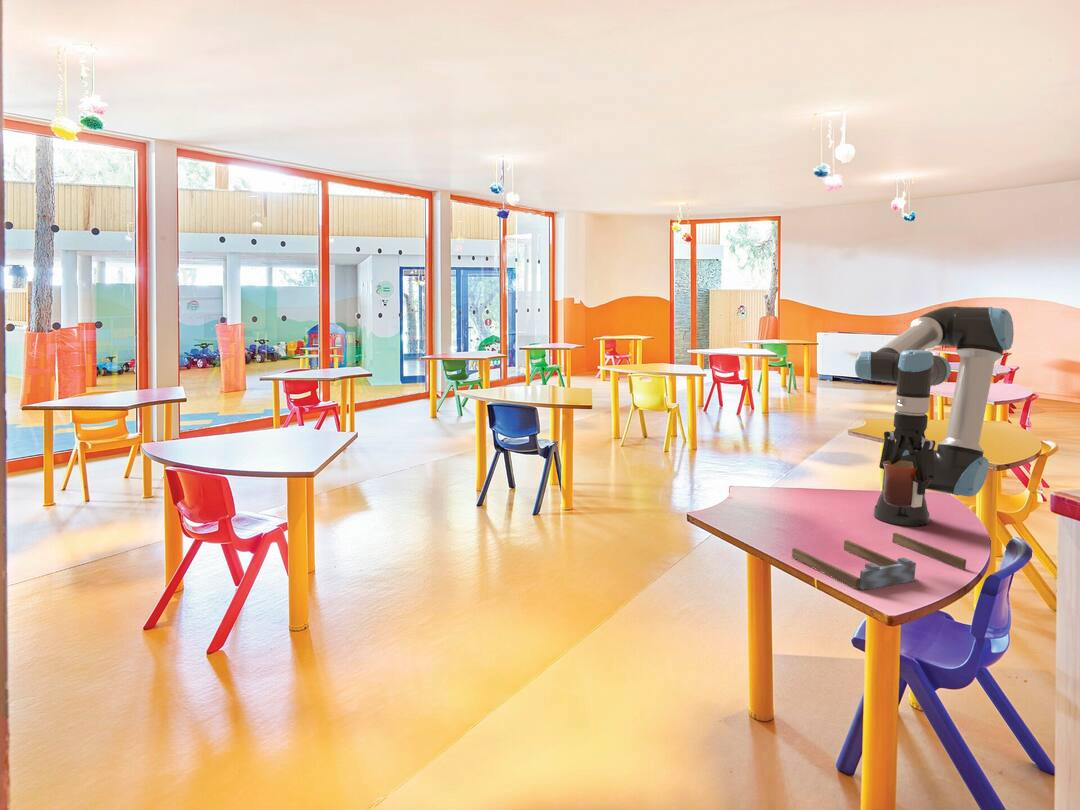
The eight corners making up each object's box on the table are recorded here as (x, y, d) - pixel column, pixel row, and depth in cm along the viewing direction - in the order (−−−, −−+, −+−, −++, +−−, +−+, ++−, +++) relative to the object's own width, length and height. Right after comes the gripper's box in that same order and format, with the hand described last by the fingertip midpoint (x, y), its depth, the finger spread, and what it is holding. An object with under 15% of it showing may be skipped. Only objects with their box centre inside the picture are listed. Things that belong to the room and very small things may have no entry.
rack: (895, 541, 214) (896, 522, 213) (971, 571, 192) (973, 550, 191) (791, 557, 201) (793, 537, 200) (861, 592, 179) (863, 569, 178)
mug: (890, 508, 192) (893, 468, 190) (873, 499, 201) (876, 460, 199) (937, 508, 193) (941, 468, 191) (919, 498, 201) (922, 460, 200)
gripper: (868, 407, 201) (861, 493, 205) (934, 420, 183) (925, 515, 186) (890, 405, 204) (883, 490, 208) (957, 418, 186) (948, 511, 189)
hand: (903, 502), depth 197 cm, fingers closed on mug, 7 cm apart
